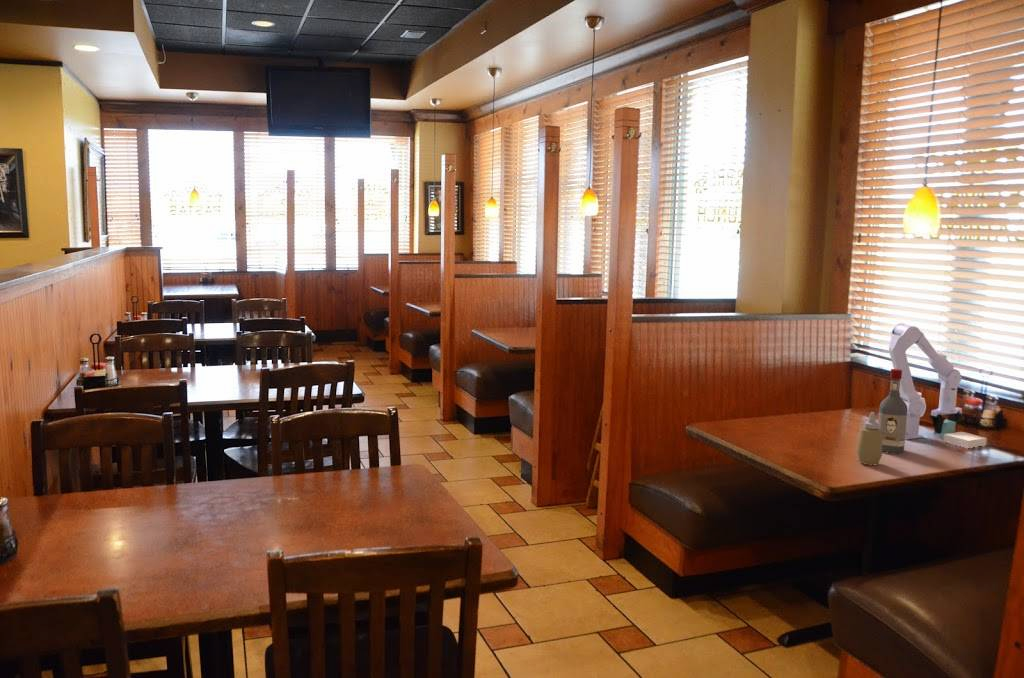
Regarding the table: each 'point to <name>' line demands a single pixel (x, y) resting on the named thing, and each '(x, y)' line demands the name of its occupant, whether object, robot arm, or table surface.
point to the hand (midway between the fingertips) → (944, 432)
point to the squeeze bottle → (870, 442)
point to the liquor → (893, 417)
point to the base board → (964, 439)
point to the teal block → (947, 428)
